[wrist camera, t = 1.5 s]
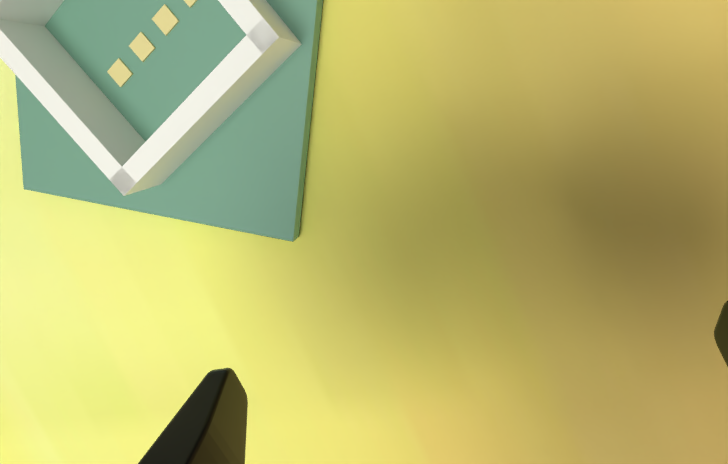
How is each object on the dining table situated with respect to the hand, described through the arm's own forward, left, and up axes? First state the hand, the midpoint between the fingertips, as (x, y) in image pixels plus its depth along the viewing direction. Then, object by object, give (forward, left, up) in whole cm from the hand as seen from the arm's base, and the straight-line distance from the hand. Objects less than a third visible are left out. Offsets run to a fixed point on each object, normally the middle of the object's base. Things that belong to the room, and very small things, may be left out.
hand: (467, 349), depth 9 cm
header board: (+13, -5, -11) cm, 18 cm away
